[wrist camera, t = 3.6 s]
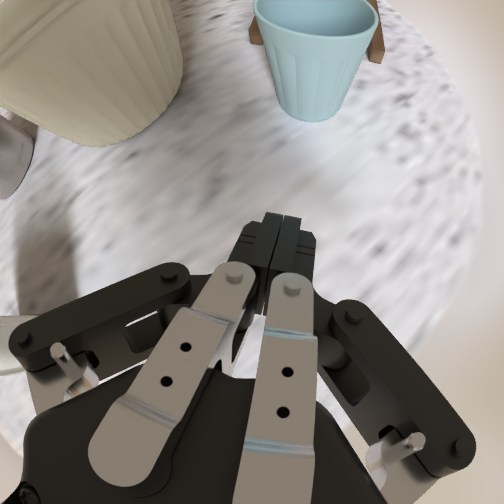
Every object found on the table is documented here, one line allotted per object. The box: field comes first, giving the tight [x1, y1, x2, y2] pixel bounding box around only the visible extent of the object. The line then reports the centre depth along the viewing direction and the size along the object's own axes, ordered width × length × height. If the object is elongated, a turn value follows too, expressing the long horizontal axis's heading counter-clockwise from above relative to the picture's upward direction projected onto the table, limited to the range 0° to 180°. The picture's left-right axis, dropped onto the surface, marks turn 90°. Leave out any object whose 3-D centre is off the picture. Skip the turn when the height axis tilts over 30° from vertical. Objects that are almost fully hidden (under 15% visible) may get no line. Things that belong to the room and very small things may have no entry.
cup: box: [253, 0, 379, 122], centre depth 17 cm, size 8×8×10 cm
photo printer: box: [0, 315, 38, 377], centre depth 16 cm, size 10×4×12 cm, turn 96°
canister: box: [0, 0, 183, 147], centre depth 14 cm, size 18×18×21 cm
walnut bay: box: [249, 0, 385, 64], centre depth 23 cm, size 13×12×2 cm
